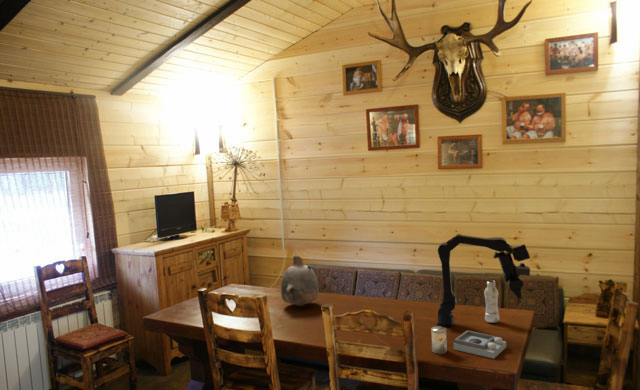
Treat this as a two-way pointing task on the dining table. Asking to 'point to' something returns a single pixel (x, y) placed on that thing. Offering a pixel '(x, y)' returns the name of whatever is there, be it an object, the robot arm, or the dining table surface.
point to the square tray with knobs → (479, 344)
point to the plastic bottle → (491, 302)
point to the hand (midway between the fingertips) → (518, 295)
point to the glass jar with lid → (439, 340)
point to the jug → (299, 284)
